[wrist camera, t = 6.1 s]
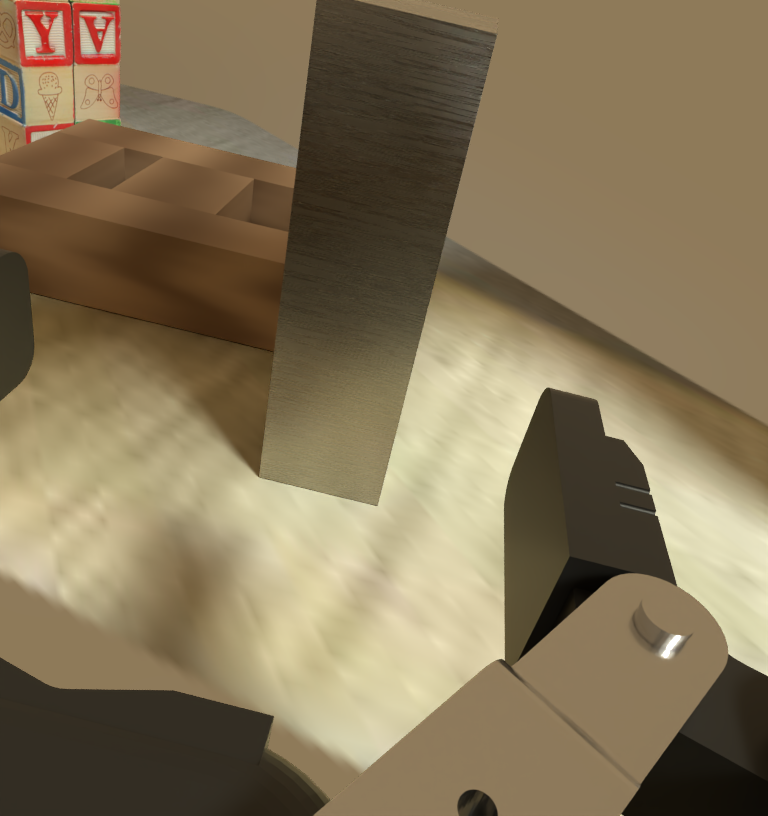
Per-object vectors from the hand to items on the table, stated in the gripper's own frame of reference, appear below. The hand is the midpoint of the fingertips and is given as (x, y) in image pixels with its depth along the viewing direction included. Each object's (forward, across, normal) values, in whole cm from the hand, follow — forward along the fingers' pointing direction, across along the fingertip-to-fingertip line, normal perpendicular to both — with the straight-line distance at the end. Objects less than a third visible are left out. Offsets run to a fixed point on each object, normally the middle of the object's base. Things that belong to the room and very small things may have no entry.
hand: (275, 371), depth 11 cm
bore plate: (+22, +8, +9) cm, 25 cm away
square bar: (+10, 0, +10) cm, 14 cm away
